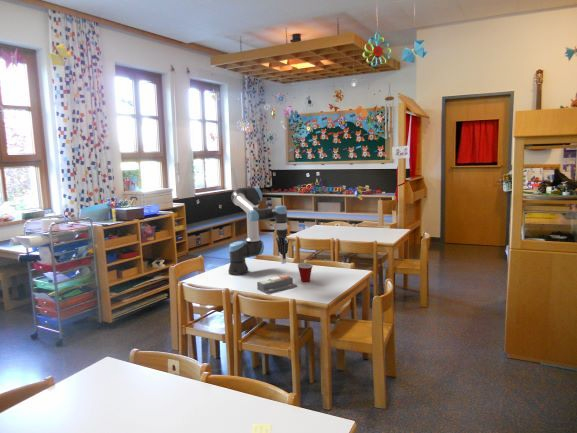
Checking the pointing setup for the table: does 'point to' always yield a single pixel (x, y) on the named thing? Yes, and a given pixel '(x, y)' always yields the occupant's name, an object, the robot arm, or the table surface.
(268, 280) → the sage key
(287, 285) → the keypad
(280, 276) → the terracotta key
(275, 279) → the cream key
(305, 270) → the plastic cup
